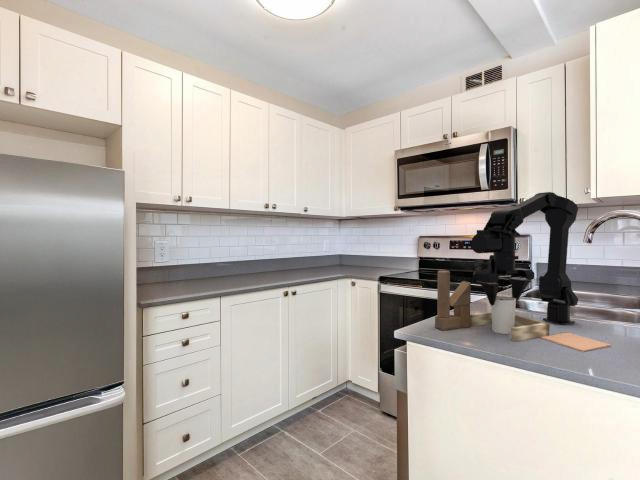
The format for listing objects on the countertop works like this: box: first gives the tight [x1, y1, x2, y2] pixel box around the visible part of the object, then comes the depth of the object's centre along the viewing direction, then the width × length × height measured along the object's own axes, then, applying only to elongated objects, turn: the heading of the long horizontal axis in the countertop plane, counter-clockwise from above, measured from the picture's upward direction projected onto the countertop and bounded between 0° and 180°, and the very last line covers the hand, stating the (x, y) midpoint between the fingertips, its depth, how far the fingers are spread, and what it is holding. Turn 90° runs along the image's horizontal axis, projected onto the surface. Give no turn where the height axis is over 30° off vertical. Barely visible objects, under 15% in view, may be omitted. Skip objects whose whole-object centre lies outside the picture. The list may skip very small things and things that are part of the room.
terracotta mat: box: [540, 332, 612, 353], centre depth 91 cm, size 11×11×1 cm
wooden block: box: [434, 269, 472, 331], centre depth 105 cm, size 4×11×18 cm, turn 108°
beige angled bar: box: [470, 311, 550, 342], centre depth 102 cm, size 14×16×4 cm
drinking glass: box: [490, 295, 517, 335], centre depth 102 cm, size 7×7×10 cm
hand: (503, 303), depth 101 cm, fingers open, 9 cm apart
